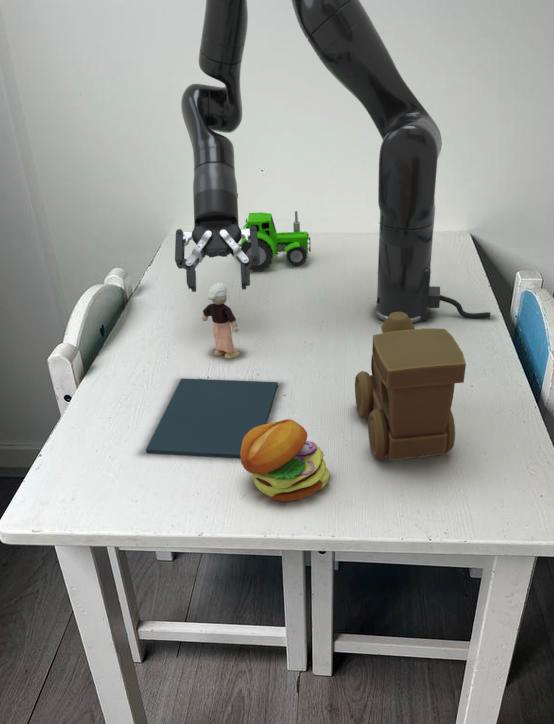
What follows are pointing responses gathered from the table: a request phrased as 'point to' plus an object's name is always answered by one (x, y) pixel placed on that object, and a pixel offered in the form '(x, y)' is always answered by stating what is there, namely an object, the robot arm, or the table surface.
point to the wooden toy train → (410, 390)
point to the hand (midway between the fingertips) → (218, 289)
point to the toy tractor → (276, 241)
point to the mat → (212, 417)
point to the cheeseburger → (283, 461)
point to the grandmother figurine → (221, 321)
